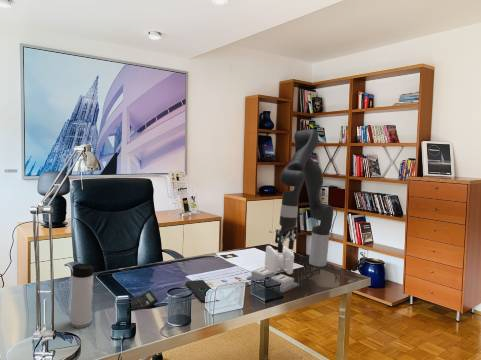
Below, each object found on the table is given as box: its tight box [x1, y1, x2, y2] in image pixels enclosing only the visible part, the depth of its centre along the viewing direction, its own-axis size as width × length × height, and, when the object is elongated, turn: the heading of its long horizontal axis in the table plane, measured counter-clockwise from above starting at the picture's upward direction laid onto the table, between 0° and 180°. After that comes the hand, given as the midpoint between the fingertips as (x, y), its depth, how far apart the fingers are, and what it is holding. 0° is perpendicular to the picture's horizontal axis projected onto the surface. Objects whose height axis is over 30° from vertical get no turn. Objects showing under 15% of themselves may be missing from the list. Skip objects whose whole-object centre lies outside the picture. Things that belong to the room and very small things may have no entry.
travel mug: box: [70, 263, 94, 329], centre depth 121 cm, size 6×7×20 cm
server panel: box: [246, 267, 300, 294], centre depth 172 cm, size 13×20×4 cm, turn 50°
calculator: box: [129, 290, 159, 312], centre depth 140 cm, size 9×12×3 cm
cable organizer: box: [264, 245, 295, 275], centre depth 187 cm, size 15×11×12 cm
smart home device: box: [185, 279, 212, 304], centre depth 155 cm, size 8×2×20 cm
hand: (285, 250), depth 167 cm, fingers open, 8 cm apart
